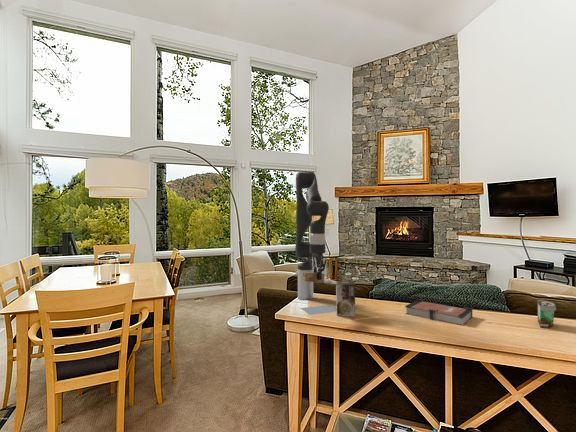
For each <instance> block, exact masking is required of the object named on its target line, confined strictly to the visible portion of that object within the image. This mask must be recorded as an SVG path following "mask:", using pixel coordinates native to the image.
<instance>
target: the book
mask: <svg viewBox="0 0 576 432" xmlns="http://www.w3.org/2000/svg"><path fill="white" fill-rule="evenodd" d="M404 307H405V308H406V312H405V315H409V316H413V317H418V318H419V317H420V318H423V319H427V320H428V319H429V320H432V321H438V322H443V323H447V324H452V325H458V326H465V325H466V324H467V322H469V321H470V320H471V319H472V318H473V307H469V306H464V307H457V306H452V305H447V304H440V303H434V302H430V301H425V299H424V298H423V299H421V298H417V299H415V301H413V302H411V303H408V304H406V305H405V306H404Z"/></svg>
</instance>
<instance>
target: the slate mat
mask: <svg viewBox="0 0 576 432" xmlns="http://www.w3.org/2000/svg"><path fill="white" fill-rule="evenodd" d="M300 310H302V311H304V312H305V313H306V314H308V315H311V316H312V315H317V314H318V315H319V314H326V313H327V314H328V313H333V312H334V313H336V306H334V305H332V304H324V305H316V306H306V307H300Z"/></svg>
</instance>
